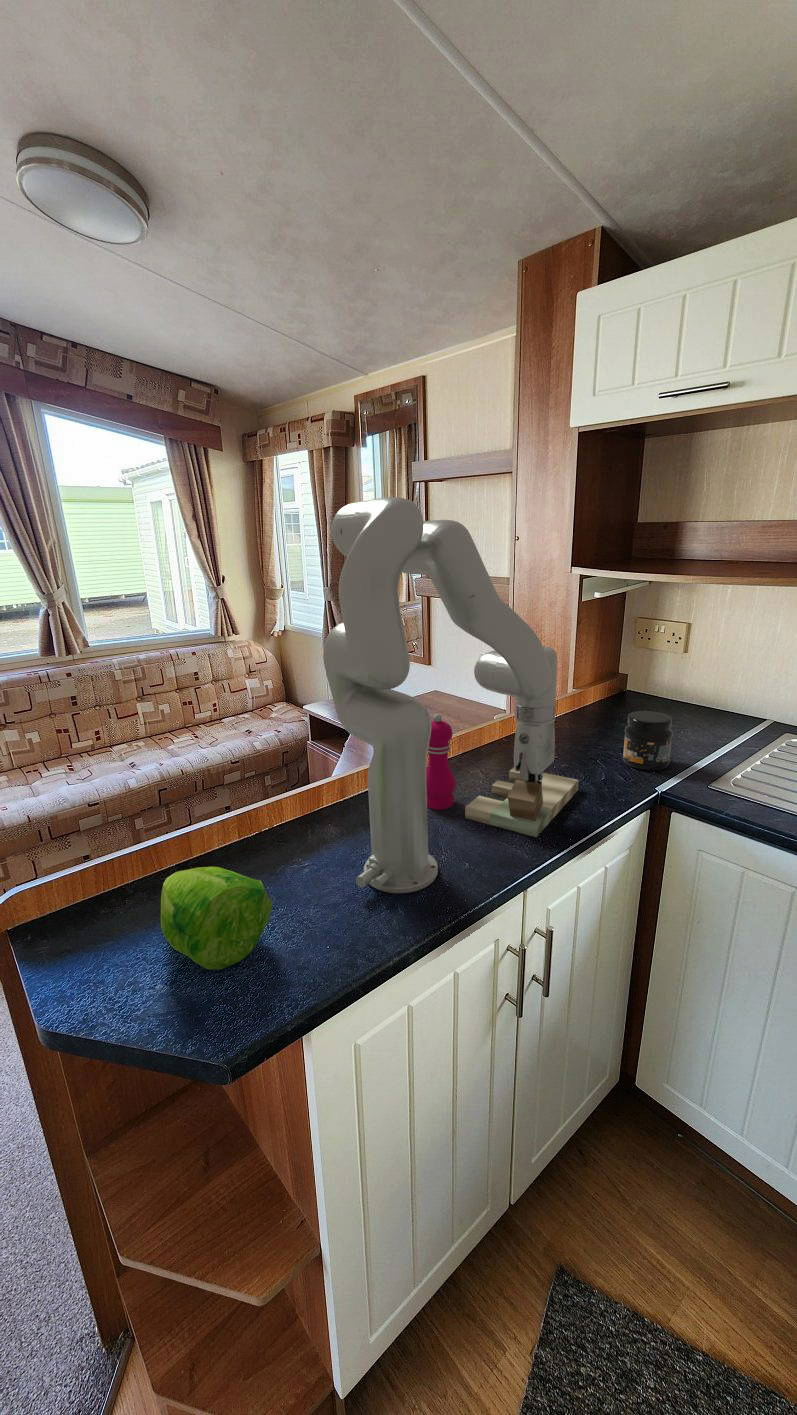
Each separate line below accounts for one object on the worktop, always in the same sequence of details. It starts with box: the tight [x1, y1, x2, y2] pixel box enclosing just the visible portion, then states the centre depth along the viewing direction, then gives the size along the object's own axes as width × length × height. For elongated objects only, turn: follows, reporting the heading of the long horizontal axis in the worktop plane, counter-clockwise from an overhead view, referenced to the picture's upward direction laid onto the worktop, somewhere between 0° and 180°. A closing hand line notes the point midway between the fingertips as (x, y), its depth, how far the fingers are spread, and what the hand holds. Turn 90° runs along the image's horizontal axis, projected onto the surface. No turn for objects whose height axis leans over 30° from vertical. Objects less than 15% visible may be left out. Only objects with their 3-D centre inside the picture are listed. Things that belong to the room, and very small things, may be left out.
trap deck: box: [464, 767, 579, 838], centre depth 120 cm, size 24×15×2 cm, turn 145°
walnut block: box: [508, 779, 543, 821], centre depth 109 cm, size 5×5×5 cm
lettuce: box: [160, 866, 274, 971], centre depth 80 cm, size 14×20×12 cm
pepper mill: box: [426, 713, 457, 811], centre depth 119 cm, size 7×7×20 cm
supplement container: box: [622, 710, 674, 772], centre depth 137 cm, size 10×10×12 cm
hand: (532, 799), depth 114 cm, fingers closed
